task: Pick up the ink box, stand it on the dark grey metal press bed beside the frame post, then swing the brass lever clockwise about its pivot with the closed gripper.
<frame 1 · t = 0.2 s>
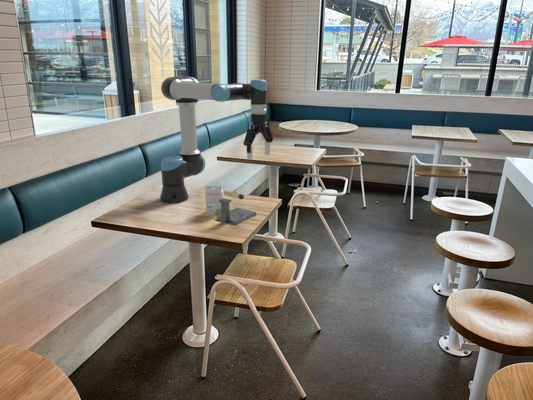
hand: (258, 157, 199), 27 cm above the table, fingers open, 13 cm apart
lever post: (220, 204, 215), on the table
press bed: (236, 217, 197), on the table
lever: (230, 194, 209), point 7 cm above the table, hinge at 0.0°
ink box: (215, 212, 204), on the table
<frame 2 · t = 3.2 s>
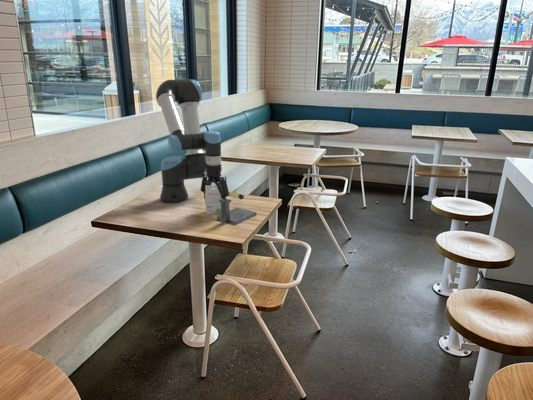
hand: (215, 207, 203), 3 cm above the table, fingers closed on ink box, 10 cm apart
ink box: (215, 212, 204), on the table, touching gripper
everything else where it was.
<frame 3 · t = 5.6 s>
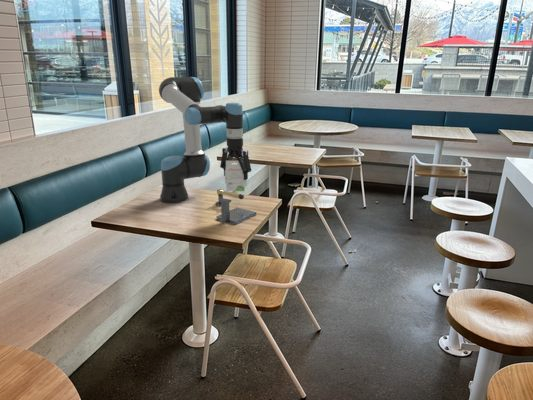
hand: (235, 184, 192), 17 cm above the table, fingers closed on ink box, 10 cm apart
ink box: (235, 190, 193), point 14 cm above the table, touching gripper
everything else where it was.
when the fingers open (5 cm above the table, at t = 8.1 s): ink box stays where it is, resting on press bed.
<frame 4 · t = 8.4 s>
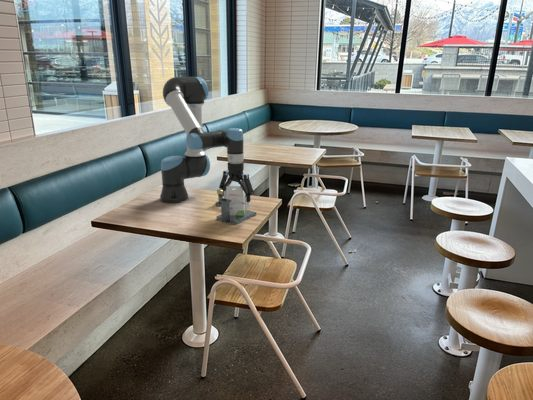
hand: (236, 205, 195), 6 cm above the table, fingers open, 12 cm apart
ink box: (236, 214, 197), point 1 cm above the table, touching press bed
everything else where it was.
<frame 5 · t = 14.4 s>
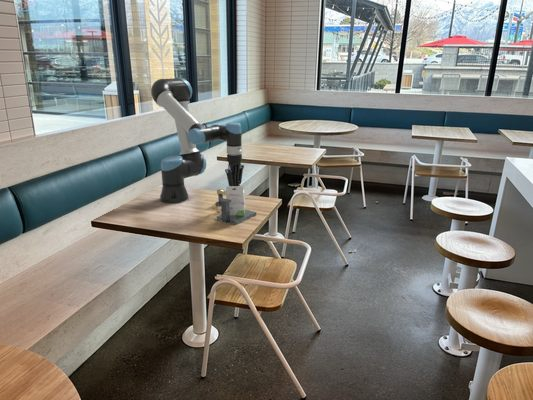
hand: (235, 198, 212), 4 cm above the table, fingers closed
lever: (230, 194, 209), point 7 cm above the table, hinge at 0.0°, touching gripper
everything else where it was.
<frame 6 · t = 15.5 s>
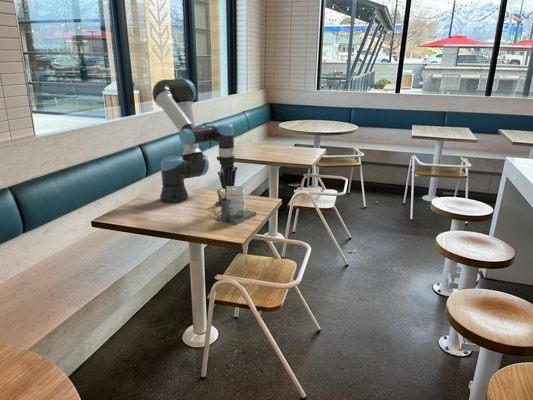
hand: (228, 200, 208), 4 cm above the table, fingers closed
lever: (223, 195, 207), point 7 cm above the table, hinge at -37.0°, touching gripper
everything else where it was.
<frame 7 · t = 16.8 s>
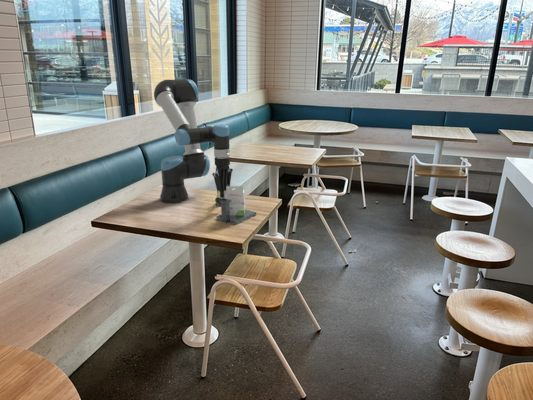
hand: (223, 202, 204), 4 cm above the table, fingers closed
lever: (219, 195, 207), point 7 cm above the table, hinge at -53.8°, touching gripper
everything else where it was.
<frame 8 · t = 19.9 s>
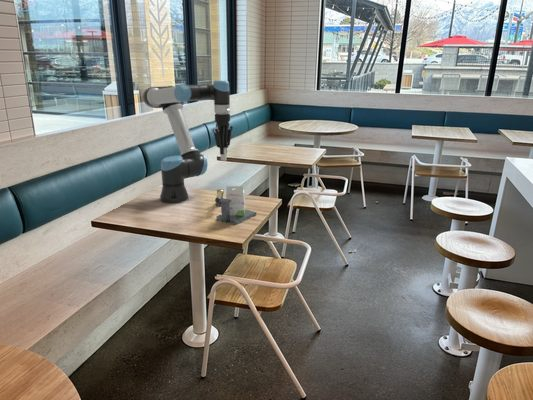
hand: (223, 160, 206), 24 cm above the table, fingers closed
lever: (219, 195, 207), point 7 cm above the table, hinge at -53.8°
everything else where it was.
at the end: ink box inside the target area on the press bed (0.3 cm from its centre), point 1.3 cm above the press bed's base; ink box tilted 0°; lever at -54° (first picture: +0°) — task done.
